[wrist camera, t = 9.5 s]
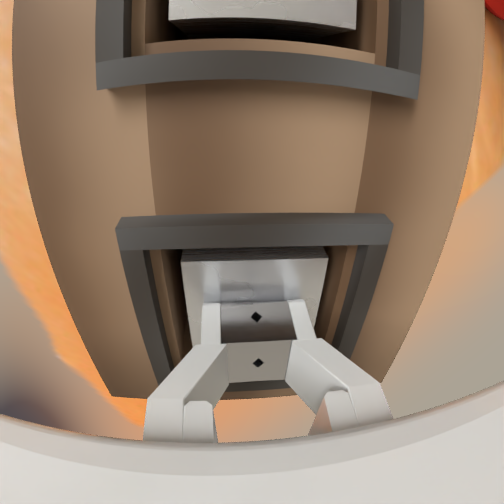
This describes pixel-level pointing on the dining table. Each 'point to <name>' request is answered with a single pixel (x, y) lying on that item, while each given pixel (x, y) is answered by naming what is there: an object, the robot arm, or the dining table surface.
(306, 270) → the peg
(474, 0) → the socket block
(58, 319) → the dining table surface
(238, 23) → the peg
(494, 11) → the canned food
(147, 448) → the robot arm
